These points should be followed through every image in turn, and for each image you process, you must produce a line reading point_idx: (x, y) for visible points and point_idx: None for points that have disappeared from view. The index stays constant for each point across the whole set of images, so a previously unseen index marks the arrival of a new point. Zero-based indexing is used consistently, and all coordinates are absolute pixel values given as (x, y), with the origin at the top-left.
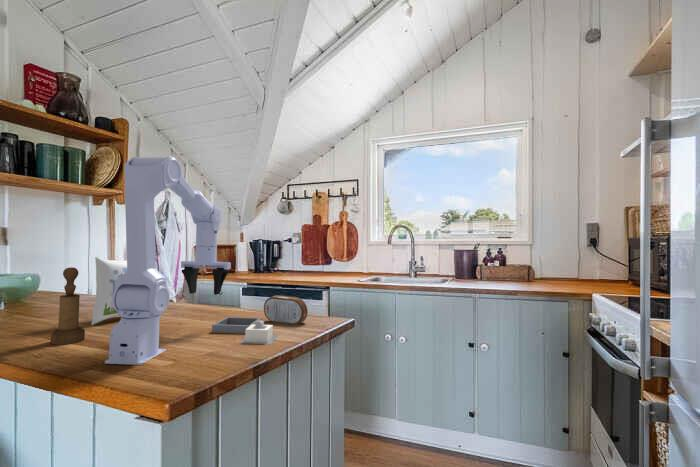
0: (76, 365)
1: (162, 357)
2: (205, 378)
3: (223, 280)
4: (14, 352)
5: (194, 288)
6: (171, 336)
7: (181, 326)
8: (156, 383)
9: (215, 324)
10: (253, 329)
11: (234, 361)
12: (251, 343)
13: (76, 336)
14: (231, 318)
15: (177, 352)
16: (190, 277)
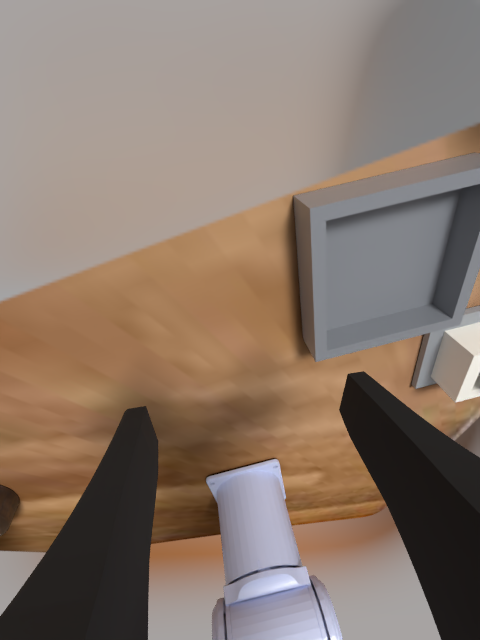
0: (187, 523)
1: (289, 470)
2: None
3: (476, 468)
4: (2, 545)
5: (146, 455)
6: (190, 392)
7: (91, 283)
8: (340, 505)
9: (324, 352)
10: (477, 395)
11: None
12: None
13: (12, 514)
14: (342, 214)
15: (298, 450)
16: (143, 622)
